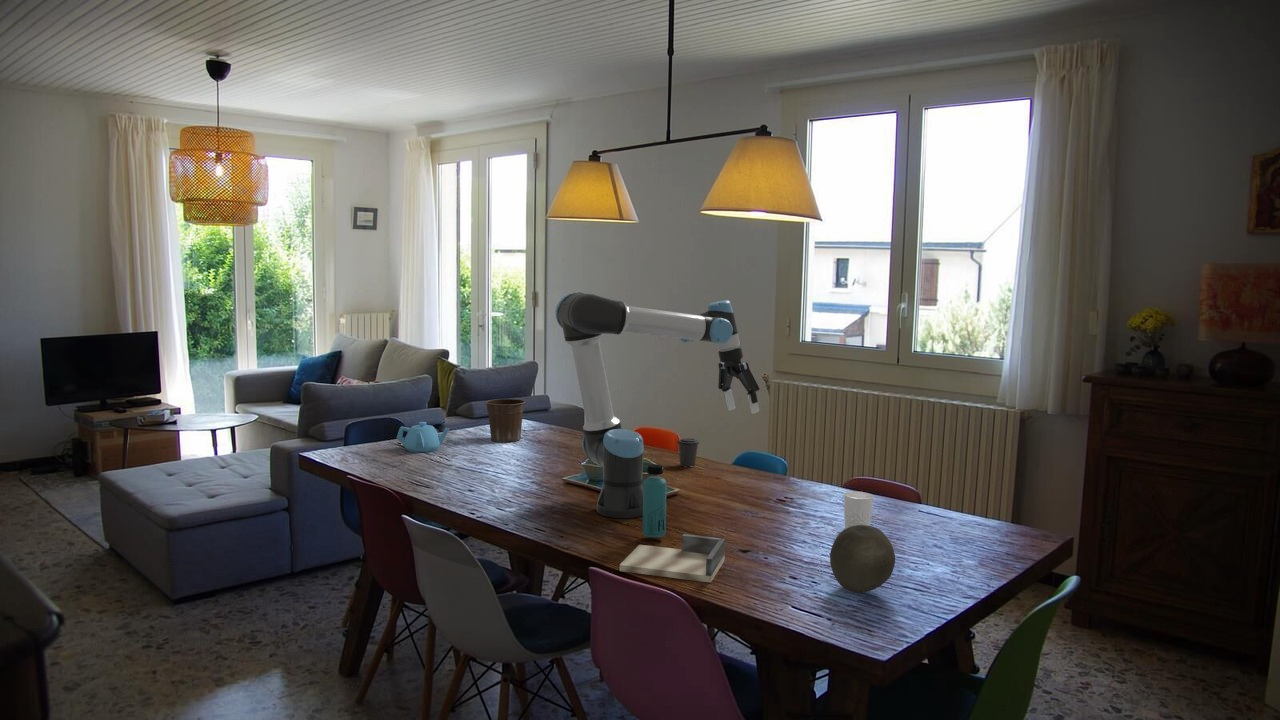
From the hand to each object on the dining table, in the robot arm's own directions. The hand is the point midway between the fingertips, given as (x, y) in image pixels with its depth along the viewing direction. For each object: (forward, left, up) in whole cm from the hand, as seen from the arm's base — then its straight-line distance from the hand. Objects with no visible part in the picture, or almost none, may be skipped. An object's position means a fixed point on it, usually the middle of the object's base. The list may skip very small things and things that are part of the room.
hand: (743, 411), depth 278 cm
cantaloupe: (+42, -81, -26) cm, 95 cm away
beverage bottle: (-12, -61, -26) cm, 68 cm away
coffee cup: (-24, +26, -26) cm, 44 cm away
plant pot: (-106, +44, -26) cm, 118 cm away
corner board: (-2, -79, -26) cm, 83 cm away
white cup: (+39, -33, -26) cm, 57 cm away
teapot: (-127, +15, -26) cm, 131 cm away
